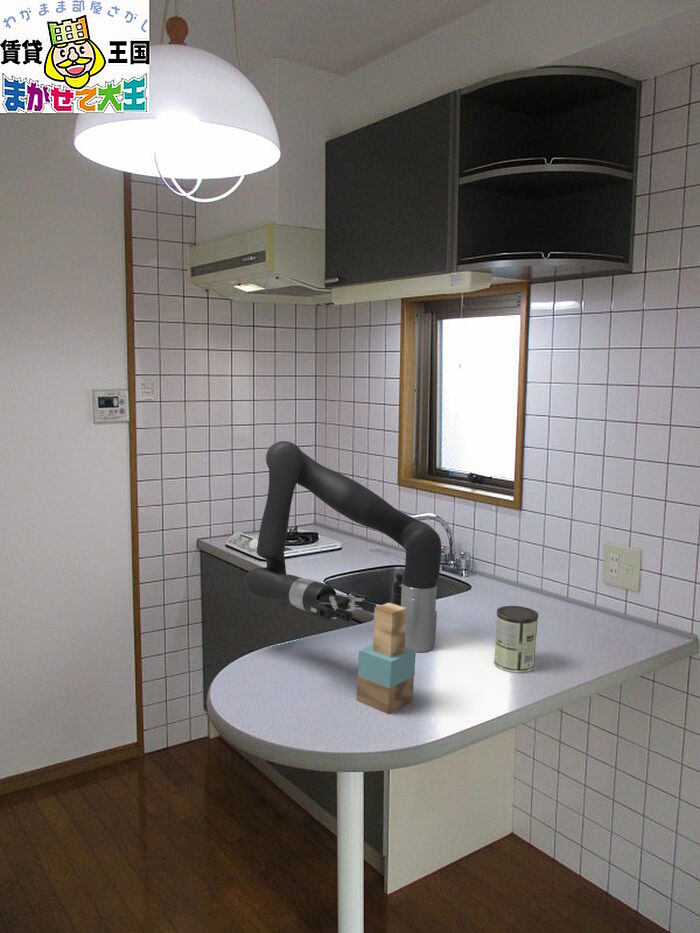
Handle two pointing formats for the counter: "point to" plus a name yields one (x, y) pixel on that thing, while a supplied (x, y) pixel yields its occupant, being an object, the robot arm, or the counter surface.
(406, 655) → the teal top block
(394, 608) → the oak block
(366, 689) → the walnut base block
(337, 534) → the counter surface
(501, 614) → the coffee can
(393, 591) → the supplement bottle
